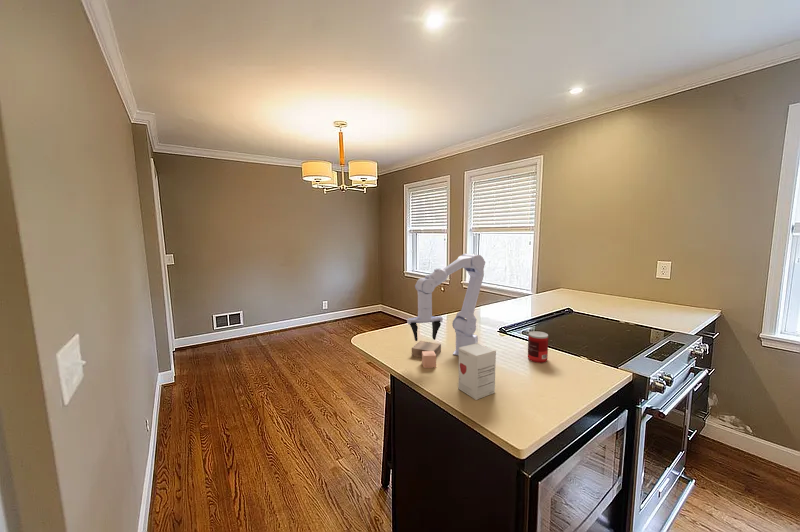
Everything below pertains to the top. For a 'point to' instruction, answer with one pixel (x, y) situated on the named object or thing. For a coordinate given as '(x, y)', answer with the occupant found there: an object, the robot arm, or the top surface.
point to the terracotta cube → (428, 359)
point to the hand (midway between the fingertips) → (425, 339)
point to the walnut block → (425, 348)
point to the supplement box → (477, 370)
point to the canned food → (537, 346)
